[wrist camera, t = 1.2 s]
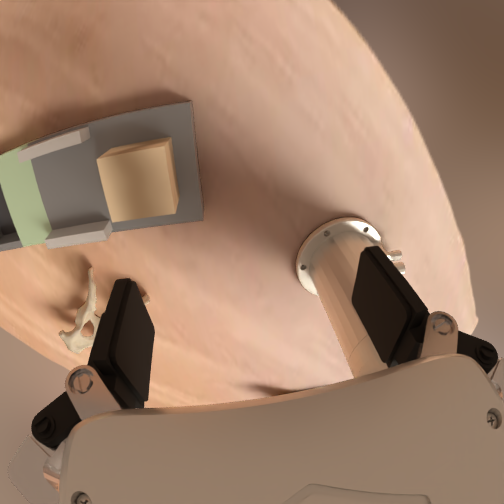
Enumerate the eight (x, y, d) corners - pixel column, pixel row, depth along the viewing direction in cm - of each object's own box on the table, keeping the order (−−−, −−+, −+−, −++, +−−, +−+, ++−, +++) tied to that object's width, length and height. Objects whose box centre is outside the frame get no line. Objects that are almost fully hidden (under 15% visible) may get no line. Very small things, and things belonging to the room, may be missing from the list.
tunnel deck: (192, 100, 25) (187, 104, 20) (204, 208, 31) (203, 230, 27) (-24, 165, 22) (-46, 180, 18) (2, 241, 29) (-15, 262, 25)
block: (171, 136, 24) (164, 146, 20) (179, 196, 27) (175, 213, 24) (111, 148, 23) (96, 159, 20) (123, 204, 27) (112, 222, 23)
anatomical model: (81, 255, 32) (68, 280, 28) (158, 290, 37) (154, 317, 33) (63, 324, 38) (55, 347, 34) (125, 349, 43) (121, 373, 39)
